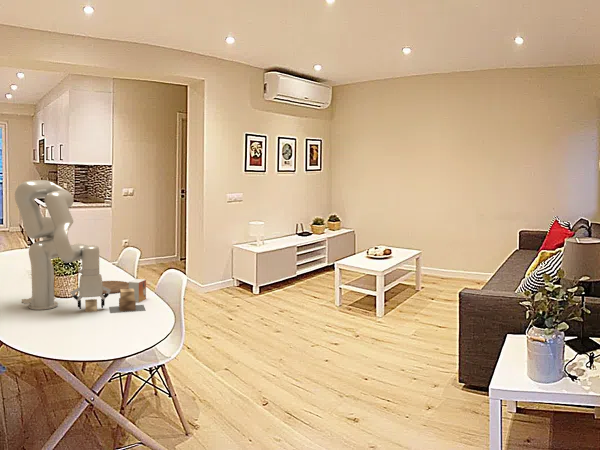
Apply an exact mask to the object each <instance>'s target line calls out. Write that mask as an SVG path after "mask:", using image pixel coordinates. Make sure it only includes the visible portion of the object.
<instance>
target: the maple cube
mask: <svg viewBox="0 0 600 450" xmlns="http://www.w3.org/2000/svg"><path fill="white" fill-rule="evenodd" d="M84 303H85V304H84V305H85V307H84V308H85V309H84V310H85V311H84V312H85V313H90V312H98V300H97V298H93V299H92V298H90V299H85V300H84Z"/></svg>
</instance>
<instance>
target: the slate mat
mask: <svg viewBox="0 0 600 450" xmlns="http://www.w3.org/2000/svg"><path fill="white" fill-rule="evenodd" d="M108 310H109V313H110V314H116V313H117V314H118V313H130V312H131V313H132V312H133V313H134V312H146V307H145V305H144V304H136V310H131V311H120V309H119V305H118V306H117V305H116V306H109V307H108Z"/></svg>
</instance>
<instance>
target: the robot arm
mask: <svg viewBox="0 0 600 450" xmlns="http://www.w3.org/2000/svg"><path fill="white" fill-rule="evenodd" d="M35 199H44V204H45V207H46V208H47V212H48V214H49V217H48V216H43V214H42V212H41V209H40V206H39V205H38V203H37V202H35ZM14 200H15V203H16V205H17V208H18V211H19V214H20V216H21V220H22V223H23V227H24V230H25V233H26V235H27V237H29V238H30V239H34V240H36V239H42V240H38V241H35V242H34V243H32V244H31V245H30V246H29V249H28V257H29V261H30V269H31V272H30V273H31V274H30V275H31V297H29V298H22V299H21V304H24V305H27V304H28V309H30V310H34V311H35V310H36V311H38V310H39V311H44V310H50V309H54V308H56V307H58V306H59V303H58V301H55V270H54V265H53V263H52V259H56V258H59V259H60V260H61V261H62V262H64V263H73V262H77V261H80V260H81V269H79V270H78V274H80V276H79V277H80V278H79V285H78V287H77V288H75V289H73V290H71V291H70V294H71V295H72V297H73V299H74V300H76V302H77V308H78V309H79V310H80V311H81V309H82V300H81V299H82V298H98V297H100V298H101V299H100V304H101V305H100V306H101V308H102V309H103V308H104V306H105V304H106V303H105V300H106V298H107V297H109V295H110V294H109V293H110V291H111V289H109V288H106V287H104V286H103V284H102V281H103V278H102V274H100V248H99V246H98V245H95V244H94V245H93V244H92V245H87V244H84V243H75V244H71V243H70V241H69V236H68V235H69V230H70V228H71V227H72V225H73V224H74V218H73V216H72V214H71V211H70V209H69V208H71V207H72V206H73V204H74V196H73V195H72V194H71V192H70V191H68V190H66V189H64V188H63V187H61V186H60V185H57V184H56V183H54V182H53V181H50V180H48V179H47V180H45V179H38V180H37V179H36V180H35V179H34V180H32V179H31V180H26V181H23V182H21V183H20V184H19V185H17V187H16V189H15V191H14ZM103 290H106V291H107V293H106V294H103ZM77 292H78V293H79V294H78V295H77V294H76V293H77Z"/></svg>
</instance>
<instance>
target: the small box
mask: <svg viewBox="0 0 600 450" xmlns="http://www.w3.org/2000/svg"><path fill="white" fill-rule="evenodd" d="M128 283H129V289H134V298H135V301H136V303H140V302H143V301H144V300H146V299H147V279H144V278H135V279H133V280H131V281H128Z"/></svg>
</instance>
